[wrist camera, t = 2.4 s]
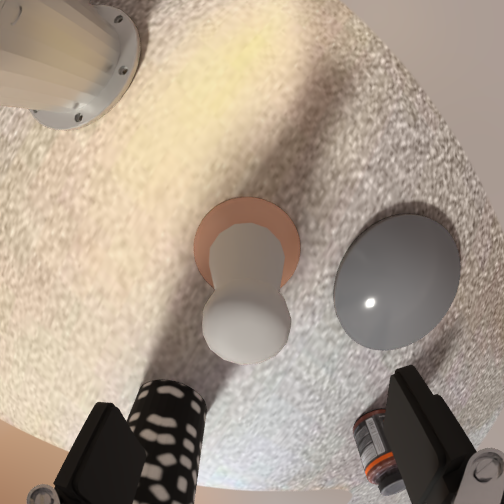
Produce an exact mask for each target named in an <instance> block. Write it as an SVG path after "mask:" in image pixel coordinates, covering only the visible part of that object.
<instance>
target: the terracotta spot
mask: <svg viewBox="0 0 504 504" xmlns="http://www.w3.org/2000/svg"><path fill="white" fill-rule="evenodd" d="M241 223H254V224H257V225H260V226H263V227H265V228H268V229H269V230H270V231H271V232H272V233H273V234H274V235H275V237H276V238H277V239H278V240H279V241H280V243H281V246H282V249H283V252H284V255H285V260H284V266H283V273H282V279H281V285H280V288H281V287H282V286H283V285H284V284H286V282H287V281H288V280H289V279H290V278H291V276H292V275H293V273H294V271H295V269H296V267H297V264H298V261H299V257H300V240H299V235H298V232H297V229H296V227H295V225H294V223H293V222H292V220H291V219H290V218H289V216H288V215H287V214H286V213H285V212H284V211H283V210H282V209H280V208H279V207H278V206H276V205H274V204H273V203H271V202H268V201H266V200H263V199H260V198H254V197H240V198H235V199H231V200H228V201H225V202H223V203H221V204H219V205H218V206H216V207H215V208H213V209H212V210H211V211H210V212H209V213H208V214H207V215H206V216H205V218H204V219H203V220H202V222H201V223H200V225H199V227H198V230H197V232H196V235H195V239H194V256H195V261H196V264H197V267H198V269H199V271H200V273H201V275H202V276H203V278H204V279H205V280H206V281H207V282H208V283H209V284H210V285H211V286H212V287H213V288H214V285H213V280H212V276H211V271H210V267H209V254H210V247H211V245H212V244H213V242H214V241H215V239H216V238H217V236H218V235H219V234H220V233H221V232H223V231H224V230H226V229H228V228H229V227H231V226H232V225H234V224H241Z"/></svg>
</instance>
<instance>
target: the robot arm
mask: <svg viewBox="0 0 504 504" xmlns="http://www.w3.org/2000/svg"><path fill="white" fill-rule="evenodd" d="M139 57H140V37H139V33H138V30H137V28H136V26H135V24H134V22H133V21H132V20H131V19H130V17H129V16H128V15H127V14H125V13H124V12H123V11H122V10H120V9H118V8H115V7H113V6H108V5H91V4H90V3H89V0H0V106H6V107H16V108H25V109H29V111H30V112H31V114H32V116H33V117H34V118H35V119H36V120H37V121H38V122H39V123H40V124H42V125H43V126H45V127H47V128H50V129H55V130H65V131H67V130H75V129H79V128H82V127H85V126H87V125H89V124H91V123H93V122H95V121H96V120H98V119H100V118H101V117H102V116H103V115H105V114H106V113H107V112H109V111H110V109H111V108H112V107H113V106H114V105H115V104H116V103H117V102H118V101H119V100H120V98H121V97H122V96H123V94H124V93H125V92H126V90H127V89H128V87H129V85H130V83H131V81H132V79H133V77H134V75H135V72H136V69H137V66H138V63H139ZM127 70H128V71H127ZM125 71H127V73H126V74H125ZM82 117H83V118H82ZM383 429H384V434H385V436H386V439H387V441H388V443H389V446H390V448H391V451H392V453H393V456H394V458H395V461H396V463H397V466H398V469H399V471H400V474H401V476H402V479H403V481H404V484H405V487H406V489H407V492H408V495H409V497H410V500H411V503H412V504H504V453H503V452H501V451H500V450H498V449H494V448H485V449H482V450H480V451H478V452H477V451H476V450H475V448H474V446H473V445H472V443H471V442H470V440H469V438H468V437H467V435H466V434H465V432H464V430H463V429H462V427H461V426H460V424H459V422H458V421H457V419H456V418H455V416H454V415H453V413H452V412H451V410H450V409H449V407H448V406H447V404H446V403H445V401H444V400H443V398H442V397H441V396H440V395H438V394H436V395H433V394H432V392H431V391H430V389H429V388H428V386H427V385H426V383H425V382H424V380H423V379H422V377H421V376H420V374H419V373H418V371H417V370H416V368H415V367H414V366H413V365H409V366H406V367H402V368H399V369H396V370H395V374H393V375H391V377H390V384H389V391H388V398H387V405H386V411H385V418H384V423H383ZM145 460H146V452H145V450H144V448H143V447H142V445H141V444H140V442H139V441H138V439H137V438H136V436H135V435H134V433H133V431H132V430H131V428H130V427H129V425H128V423H127V422H126V420H125V418H124V417H123V415H122V413H121V412H120V410H119V409H118V408H117V407H115V405H114V404H113V403H106V402H97V403H96V404H95V405H94V407H93V409H92V411H91V413H90V414H89V416H88V418H87V420H86V422H85V423H84V425H83V427H82V429H81V431H80V433H79V435H78V436H77V438H76V440H75V442H74V444H73V446H72V448H71V450H70V452H69V454H68V455H67V458H66V460H65V462H64V463H63V465H62V467H61V469H60V471H59V473H58V475H57V477H56V479H55V481H54V485H55V488H54V489H53V487H51V486H49V485H45V484H42V485H38V486H36V487H34V488H33V489H32V490H31V491H30V492H29V494H28V496H27V504H133V500H134V497H135V494H136V490H137V487H138V483H139V480H140V477H141V473H142V470H143V467H144V464H145Z"/></svg>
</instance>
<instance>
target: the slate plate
mask: <svg viewBox="0 0 504 504" xmlns="http://www.w3.org/2000/svg"><path fill="white" fill-rule="evenodd" d="M459 280H460V257H459V252H458V249H457V246H456V243H455V242H454V240H453V238H452V236H451V235H450V233H449V232H448V231H447V230H446V229H445V228H444V227H443V226H442V225H440V224H439V223H437V222H436V221H434V220H432V219H429V218H427V217H425V216H421V215H417V214H398V215H394V216H390V217H387V218H385V219H382V220H380V221H379V222H377V223H375V224H373V225H372V226H371V227H369V228H368V229H366V230H365V231H364V232H363V233H362V234H361V235H360V236H359V237H358V238H357V239H356V240H355V241H354V242H353V244H352V245H351V246H350V248H349V249H348V251H347V252H346V254H345V255H344V257H343V259H342V261H341V263H340V266H339V268H338V271H337V274H336V278H335V283H334V307H335V311H336V314H337V317H338V319H339V321H340V323H341V325H342V327H343V329H344V330H345V332H346V333H347V334H348V335H349V336H350V337H351V339H353V340H354V341H355V342H357V343H358V344H360V345H362V346H364V347H367V348H370V349H374V350H394V349H398V348H402V347H405V346H408V345H410V344H412V343H414V342H416V341H418V340H419V339H421V338H423V337H424V336H425V335H427V334H428V333H429V332H430V331H431V330H432V329H434V328H435V327H436V326H437V324H438V323H439V322H440V321H441V320H442V318H443V317H444V316H445V314H446V313H447V311H448V310H449V308H450V306H451V304H452V302H453V300H454V298H455V295H456V292H457V289H458V285H459Z"/></svg>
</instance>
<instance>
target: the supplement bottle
mask: <svg viewBox="0 0 504 504" xmlns="http://www.w3.org/2000/svg"><path fill="white" fill-rule="evenodd" d="M385 411H386V409H379V410H374V411H372V412H369V413H367V414H365V415H364V416H362V417H361V418H360V419H359V420H358V421H357V422H356V423H355V425H354V427H353V434H354V438H355V441H356V444H357V448H358V451H359V454H360V457H361V460H362V463H363V467H364V470H365V473H366V476H367V479H368V481H369V482H371V483H373V484H379V486H378V488H379V490H380V493H381V495H383V496H389V495H393V494H396V493H399V492H401V491H403V490H405V489H406V487H405V484H404V481H403V479H402V476H401V474H400V471H399V469H398V466H397V463H396V461H395V458H394V456H393V453H392V451H391V448H390V446H389V443H388V441H387V439H386V436H385V434H384V429H383V423H384V418H385Z"/></svg>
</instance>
